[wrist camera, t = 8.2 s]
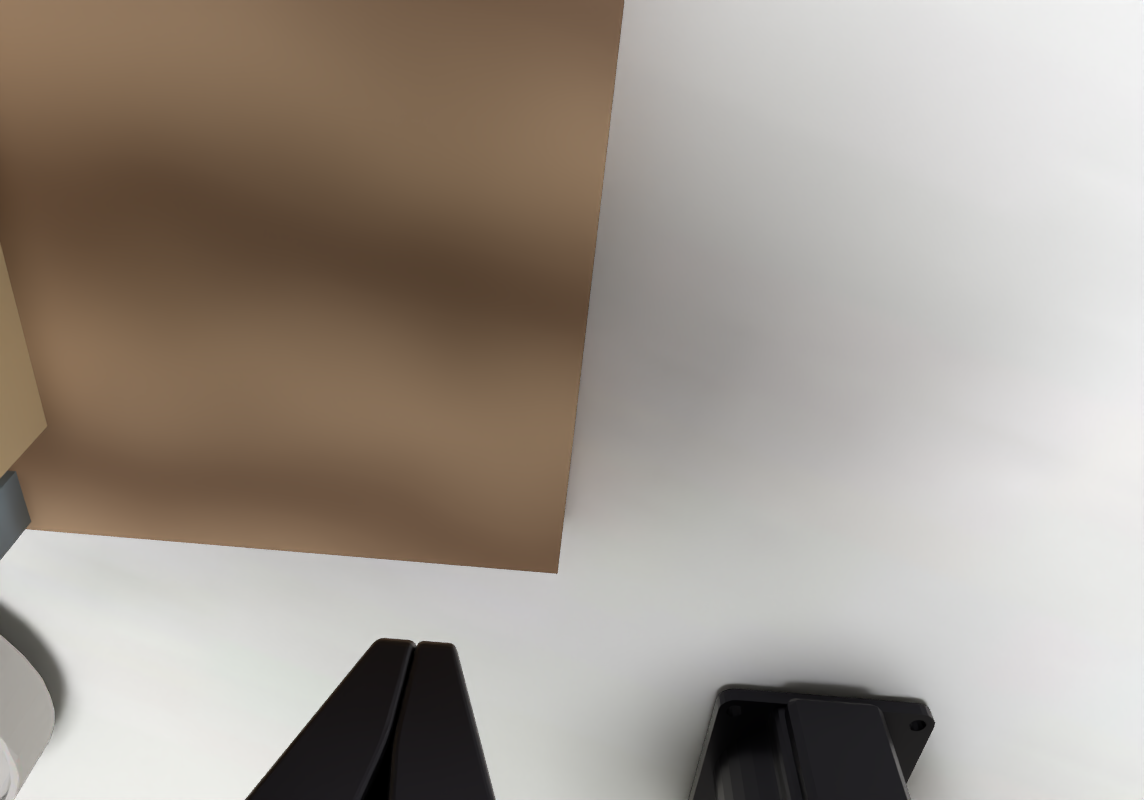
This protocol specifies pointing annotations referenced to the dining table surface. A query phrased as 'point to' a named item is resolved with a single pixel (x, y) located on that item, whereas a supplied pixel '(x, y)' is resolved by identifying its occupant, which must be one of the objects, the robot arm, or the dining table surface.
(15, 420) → the carton
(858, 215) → the dining table surface
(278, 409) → the podium
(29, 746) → the toy
